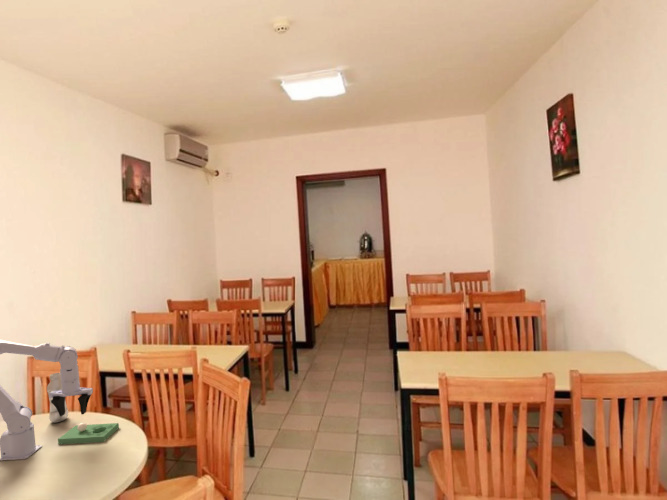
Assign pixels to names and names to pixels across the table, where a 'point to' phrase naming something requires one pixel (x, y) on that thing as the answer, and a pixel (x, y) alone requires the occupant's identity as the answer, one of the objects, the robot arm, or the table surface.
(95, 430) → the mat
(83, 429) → the ball
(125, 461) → the table surface
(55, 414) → the plastic bottle
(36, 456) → the table surface
